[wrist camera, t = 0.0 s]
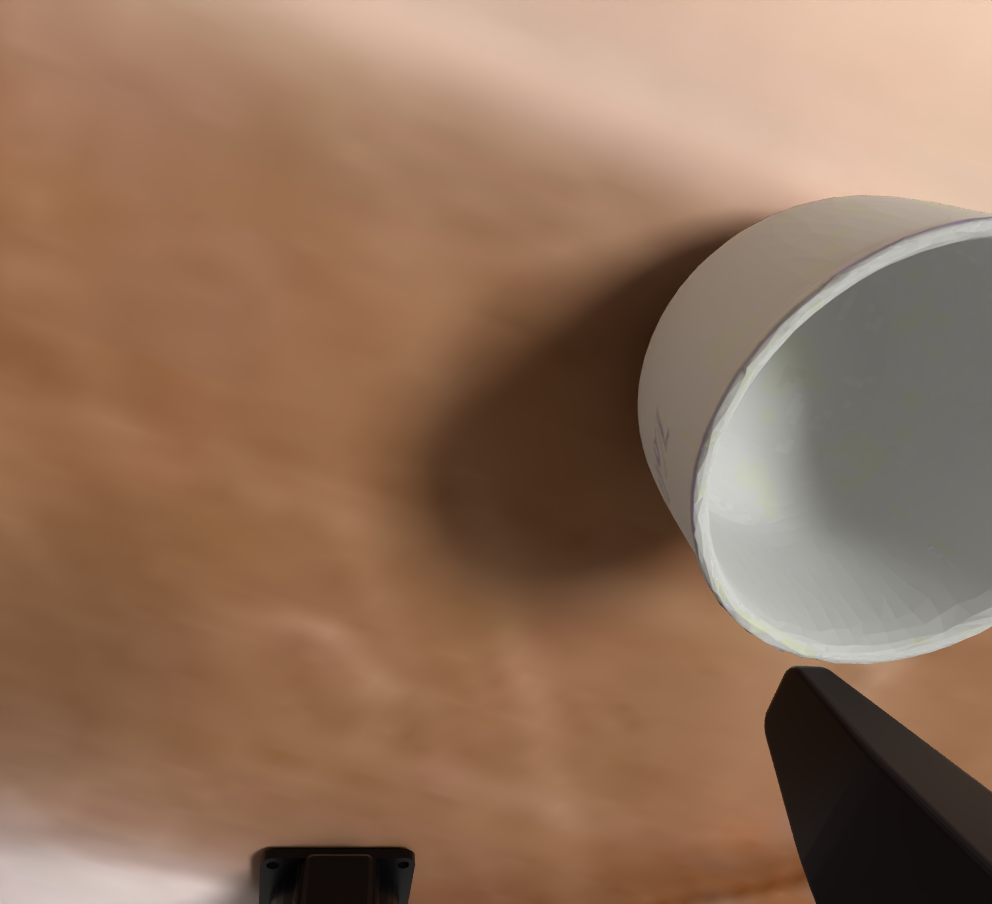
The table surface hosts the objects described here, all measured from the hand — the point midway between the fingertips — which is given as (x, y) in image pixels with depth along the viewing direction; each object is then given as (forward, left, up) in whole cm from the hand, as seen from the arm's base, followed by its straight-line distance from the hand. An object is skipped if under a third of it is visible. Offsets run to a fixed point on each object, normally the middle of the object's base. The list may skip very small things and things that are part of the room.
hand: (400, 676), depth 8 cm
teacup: (-1, -13, -15) cm, 20 cm away
